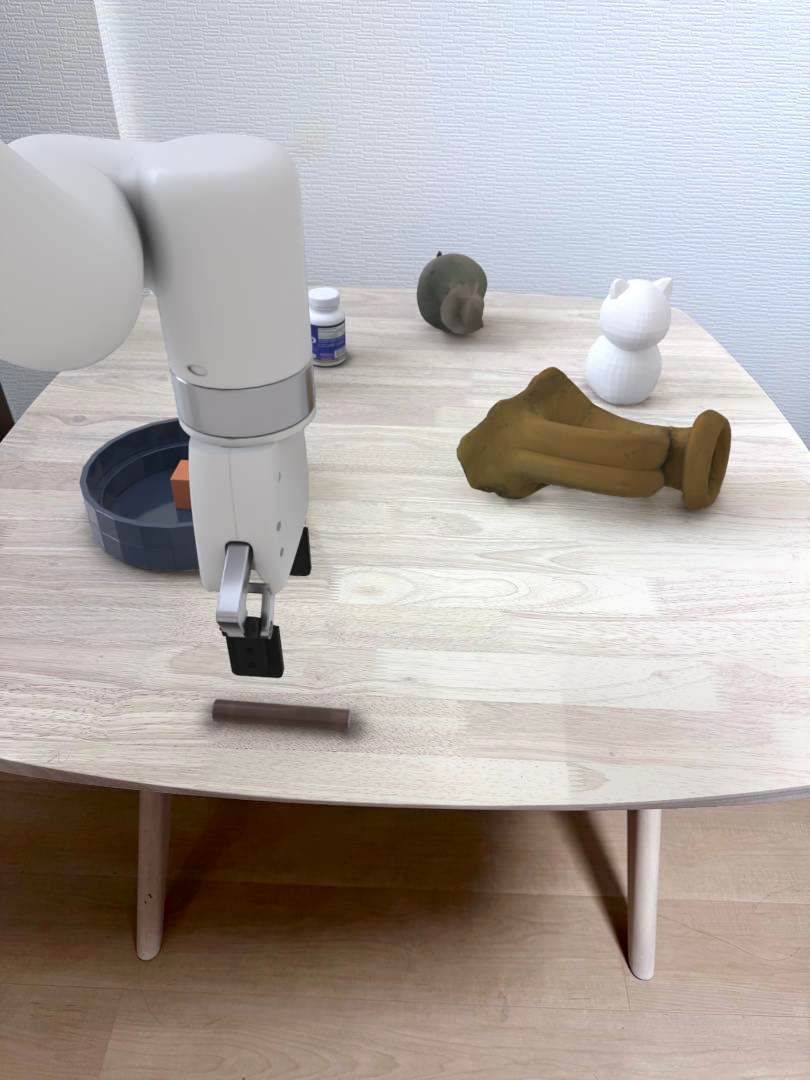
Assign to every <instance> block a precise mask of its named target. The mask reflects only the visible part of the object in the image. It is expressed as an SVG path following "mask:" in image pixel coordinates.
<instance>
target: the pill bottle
mask: <svg viewBox="0 0 810 1080" xmlns="http://www.w3.org/2000/svg"><path fill="white" fill-rule="evenodd" d="M308 297H309V311H310V325H311V341H312V353H313V366H319V367H334V366H337V365H340V364H342V363H344V362H345V361H346V358H347V342H346V340H347V339H346V313H345V310H344V309H343V308H342V307H341V306H340V301H341V299H340V298H341V297H340V292H339V290H338V289H336V288H333V287H328V286H327V287H326V286H324V287H323V286H322V287H321V286H320V287H315V288H312V289H310V290H308Z"/></svg>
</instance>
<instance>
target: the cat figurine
mask: <svg viewBox="0 0 810 1080" xmlns="http://www.w3.org/2000/svg"><path fill="white" fill-rule="evenodd" d="M609 288H610V289H609V292H608V294H607V296H606V297H605V298H604V300H603V301H602V303H601V306H600V308H599V309H600V310H599V313H598V321H599V322H598V325H599V327H600V330H601V333H602V335H600V336H599V337H597V339H596V340H595V341H594V342H593V344H592V345H591V346H590V349H589V351H588V353H587V357H586V360H585V364H584V365H585V366H584V378H585V381H586V382H587V384H588V386H589V387H590V388H591V390H593V391H594V393H595V394H596V395H597V396H598V397H600V399H602V401H605V402H606V403H608V404H612V405H620V406H621V405H622V406H629V405H637V404H640V403H642V402H644V401H646V400H647V399H648V398H649V397H650V396H651V394H652V393H653V392H654V391H655V388H656V386H657V384H658V382H659V379H660V377H661V374H662V369H663V368H662V367H663V361H662V354H661V351H660V349H659V346H658V344H659V343H660V342H661V341H662V340H664V339H665V338H666V335H667V333H668V332H669V330H670V325H671V321H672V320H671V319H672V307H671V302H670V297H671V296H672V292H673V288H674V280H673V278H672V277H667V276H666V277H663V278H660V279H657V280H655V281H651V280H647V279H643V278H641V279H640V278H636V279H635V278H634V279H629V280H626V279H624V278H621V277H618V278H615V279H614V281H612V283H611V285H610V287H609Z"/></svg>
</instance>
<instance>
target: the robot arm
mask: <svg viewBox="0 0 810 1080" xmlns="http://www.w3.org/2000/svg"><path fill="white" fill-rule="evenodd" d="M300 183H301V181H300V174H299V171H298V167H297V164H296V162H295V161H294V159H293V156H292V155H291V154H290V153H289V152H288V150H287V149H286V148H285V147H283V146H282V145H280V143H277V142H275V141H273V140H271V139H268V138H264V137H260V136H257V135H251V134H244V133H226V132H225V133H224V132H223V133H221V132H220V133H204V134H194V135H187V136H182V137H177V138H174V139H170V140H167V141H163V142H162V141H143V140H142V141H141V140H129V139H128V140H127V139H117V138H115V139H114V138H108V137H107V138H105V137H98V136H89V135H81V134H69V133H40V134H39V133H38V134H31V135H27V136H23V137H20V138H17V139H15V140H13V141H11V142H9V143H5V142H4V141H3V140H2V139H0V360H1V361H4V362H6V363H8V364H11V365H14V366H18V367H22V368H25V369H29V370H33V371H40V372H41V371H42V372H53V373H54V372H55V373H57V372H59V373H60V372H69V371H77V370H81V369H84V368H86V367H90V366H93V365H94V366H95V365H96V364H98V363H99V362H101V361H103V360H104V359H106V358H108V357H109V356H111V355H112V354H113V353H114V352H115V351H116V350H117V349H119V348H120V347H121V346H122V345H123V344H124V343H125V341H126V340H127V338H128V337H129V336H130V334H131V333H132V331H133V329H134V328H135V326H136V324H137V321H138V318H139V316H140V312H141V309H142V305H143V297H144V288H146V289H149V290H150V291H151V292H152V293H153V295H154V297H155V298H156V304H157V310H158V316H159V319H160V325H161V326H160V327H161V331H162V335H163V343H164V347H165V352H166V357H167V363H168V367H169V373H170V379H171V384H172V389H173V395H174V400H175V404H176V405H175V407H176V410H177V416H178V417H179V422H180V425H181V427H182V428H183V430H184V431H185V432H186V433H187V434H188V435H190V436H191V437H190V441H189V483H190V496H191V507H192V516H193V525H194V533H195V540H196V548H197V555H198V562H199V569H198V570H199V575H200V581H201V585H202V586H203V588H204V589H205V590H206V592H209V593H213V592H215V593H218V599H217V603H216V610H215V622H216V624H217V626H219V627H218V629H219V631H220V632H221V635H222V637H224V638H225V643H226V647H227V652H228V653H227V654H228V659H229V664H230V669H231V673H232V674H233V675H235V676H237V677H251V678H266V679H280V678H282V677H283V676H284V672H285V663H284V655H283V653H284V652H283V646H282V637H281V630H280V625H277V624H274V622H275V621H274V618H275V604H276V595H278V594H279V593H280V592H281V591H282V590H283V589H284V588H285V587H286V585H287V582H288V580H289V577H308V576H310V575H311V572H312V567H313V566H312V555H311V543H310V533H309V532H310V531H309V526H306V523H307V518H308V517H307V516H308V511H309V505H310V477H309V464H308V453H307V447H306V446H307V445H306V444H307V443H306V436H305V435H306V434H305V428H307V427H308V426H309V425H310V424H311V423H312V422H313V421H314V419H315V417H316V414H317V398H316V383H315V367H314V366H315V365H314V364H313V353H312V341H311V325H310V311H309V297H308V292H309V285H308V271H307V258H306V257H307V256H306V245H305V243H306V241H305V230H304V229H305V228H304V216H303V214H304V213H303V203H302V201H303V199H302V192H301V191H302V189H301V184H300ZM178 417H177V418H178ZM252 571H255V572H256V573H257V574H258V576H259V578H260V579H261V580H262V582H251V581H250V580H251V573H252ZM248 594H256V595H261V605H260V616H254V615H253V616H252V615H251V616H250V615H248V614H249V612H248V610H247V599H248Z"/></svg>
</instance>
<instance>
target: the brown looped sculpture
mask: <svg viewBox="0 0 810 1080" xmlns="http://www.w3.org/2000/svg"><path fill="white" fill-rule="evenodd" d="M731 445H732V427H731V424H730V421H729V420H728V418H727V417H725V416H724V415H723V414H722V413H720V412H718V411H717V410H714V409H706V410H704V411H702V412H701V413H699V414H698V415H697V417H696V418H695V419H694V421H693V424H692V426H687V427H686V426H685V427H682V426H681V427H679V426H678V427H677V426H672V425H669V426H665V425H660V424H652V423H651V424H650V423H644V422H639V421H637V420H636V421H635V420H633V419H632V420H631V419H628V418H625V417H623V416H619V415H617V414H615V413H613V412H611V411H609V410H607V409H605V408H602V407H600V406H598V405H596V404H595V403H594V402H593V401H592V400H591V399H590V398H589V397H588V396H587V395H586V394H585V393H584V392H583V391H582V389H581V388H579V387H578V386H577V385H576V383H574V381H572V380H571V379H570V377H568V375H567V374H566V373H565V372H564V371H562V370H561V369H560V368H558V367H556V366H550V367H547V368H545V369H543V370H542V371H540V372H539V373H538V374H535V375H534V376H533V377H532V378H531V379H530V381H529V383H528V384H527V386H526V388H525V389H524V390H522V391H520V392H519V393H517V394H515V395H514V396H512V397H509V398H504V399H503V398H502V399H499V400H498V401H496V402H495V403H494V404H493V405H492V406H491V408H490V409H489V410H488V412H487V414H486V416H485V417H484V418H483V419H482V420H481V421H480V422H479V423H478V424H476V426H475V427H473V428H471V430H470V431H468V432H467V433H465V434H464V435H463V436H462V437H461V438H460V440H459V443H458V445H457V448H456V458H457V461H458V462H460V466H461V468H462V470H463V473H464V476H465V478H466V481H467V483H468V484H469V487H470V488H471V489H473V490H476V491H480V492H483V493H487V494H491V493H493V494H495V495H496V496H498V497H499V498H503V499H507V500H522V499H525V498H528V497H530V496H531V495H534V494H535V493H537V492H538V491H540V490H542V489H544V488H547V487H549V486H554V487H555V486H556V487H562V488H568V489H573V490H578V491H582V492H588V493H593V494H598V495H604V496H609V497H617V498H625V499H646V498H651V497H653V496H655V495H656V494H657V493H659V492H660V491H661V490H662V489H663V488H669V489H673V490H676V491H679V492H681V501H682V502H683V504H684V506H686V508H688V509H690V510H695V511H700V510H704V509H707V508H709V507H712V505H713V504H714V503H715V502H716V500H717V498H718V496H719V494H720V491H721V488H722V487H723V486H722V485H723V483H724V480H725V477H726V473H727V468H728V465H729V460H730V458H729V457H730V454H731V449H732V447H731Z"/></svg>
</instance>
